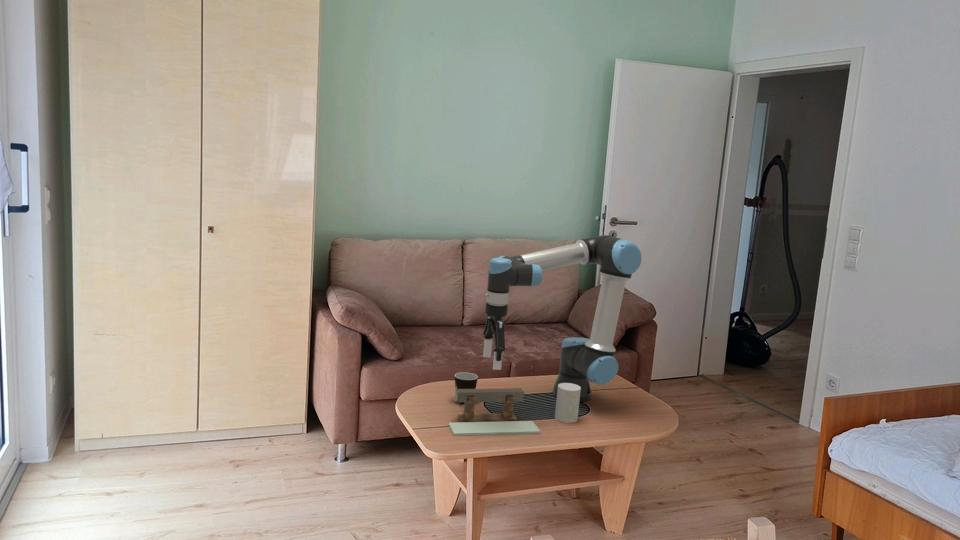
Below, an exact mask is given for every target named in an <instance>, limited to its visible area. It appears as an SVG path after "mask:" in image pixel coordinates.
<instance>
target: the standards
mask: <svg viewBox="0 0 960 540" xmlns="http://www.w3.org/2000/svg"><path fill="white" fill-rule="evenodd" d="M514 398H515V397H514V396H513V397H507V402H502V408H501V412H496V413H491V412H490V413H486V412H485V413H475V409H476V408H475V407H476V402H475V399H476V398H475V397H468V402H464V405H463V413H459V414H458V419H459V420H460V422H504V421H518V418H517V416H516V415H515V414H514V413H513V411H514V404H515V401H514Z"/></svg>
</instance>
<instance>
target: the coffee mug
mask: <svg viewBox="0 0 960 540" xmlns="http://www.w3.org/2000/svg"><path fill="white" fill-rule="evenodd" d="M478 379H479V376H478V375H477V374H475V373H472V372H466V371H460V372H457V373H455V374H454V387H455V388H454V389H477V384H478ZM455 402H456V401H455ZM456 404H458V405H463V406H464V402H456Z"/></svg>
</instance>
